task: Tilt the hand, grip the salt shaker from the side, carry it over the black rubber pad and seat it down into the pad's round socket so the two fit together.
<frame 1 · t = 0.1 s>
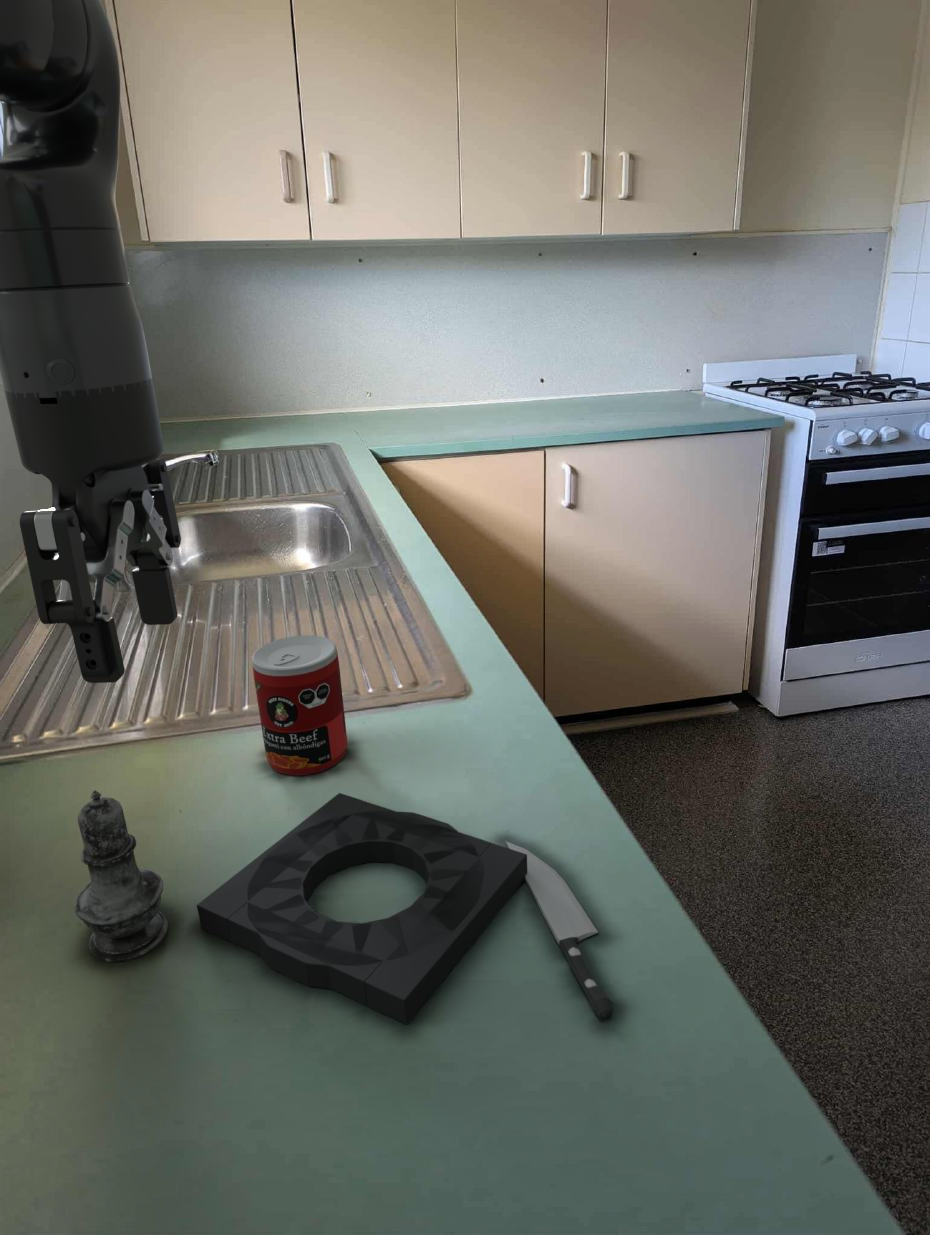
hand: (134, 649, 54), 22 cm above the worktop, tool pointing down, fingers open, 8 cm apart
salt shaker: (129, 936, 62), on the worktop
canned food: (308, 757, 84), on the worktop
chef's knife: (565, 919, 62), on the worktop, touching black pad
black pad: (368, 901, 64), on the worktop
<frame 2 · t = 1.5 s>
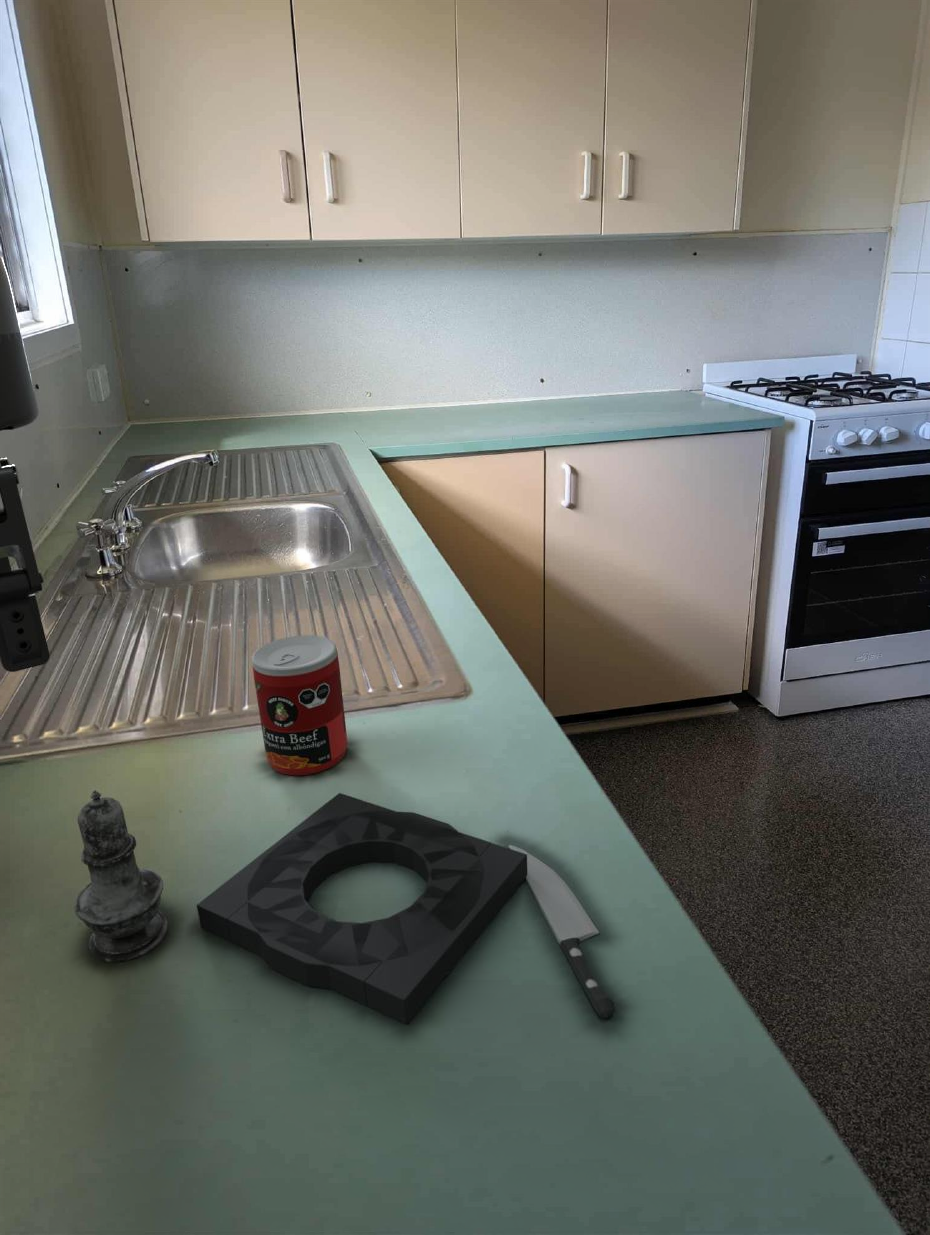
hand: (13, 640, 48), 25 cm above the worktop, tool pointing down, fingers open, 8 cm apart
chef's knife: (566, 920, 62), on the worktop
everything else where it was.
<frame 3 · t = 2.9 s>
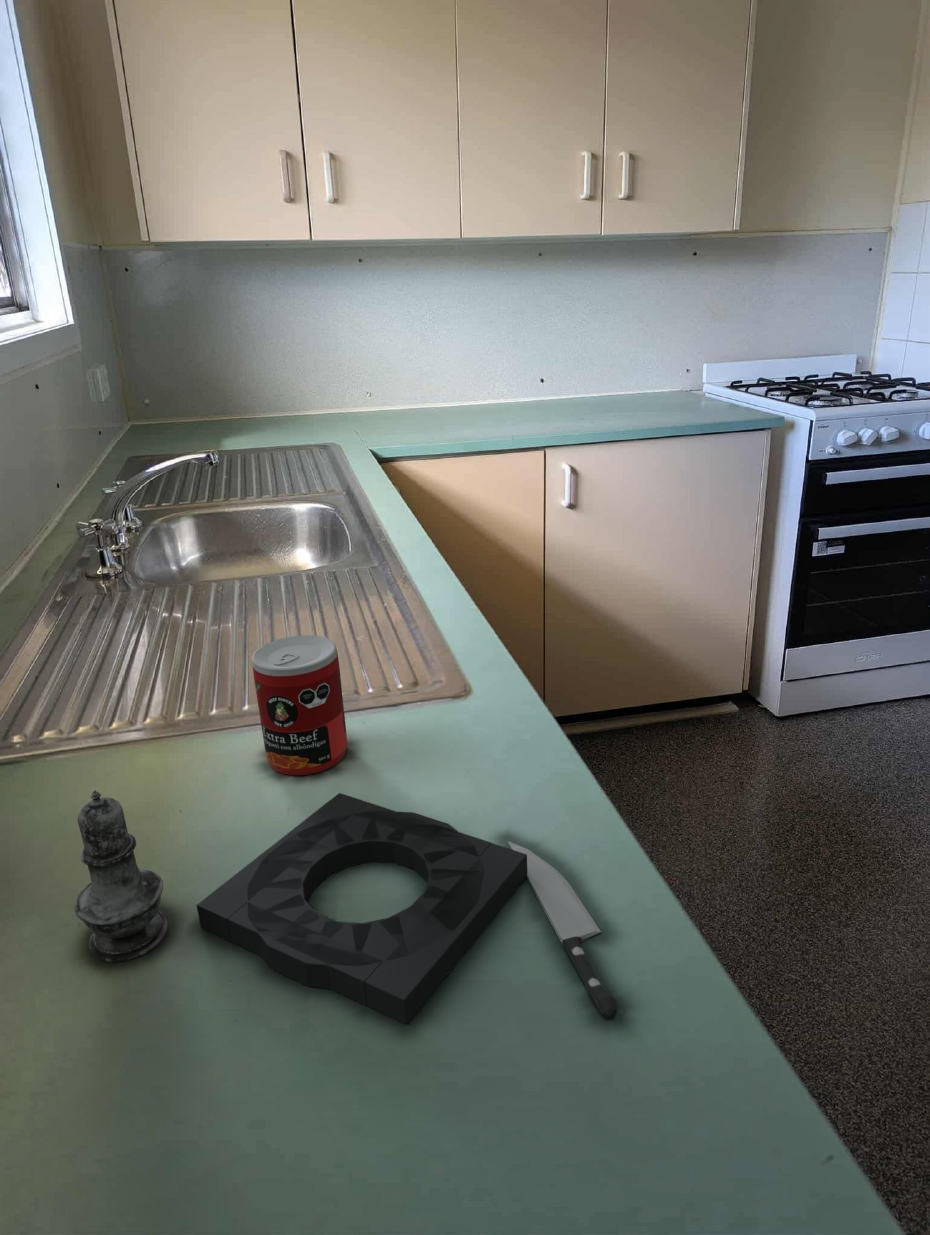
nothing on the worktop moved.
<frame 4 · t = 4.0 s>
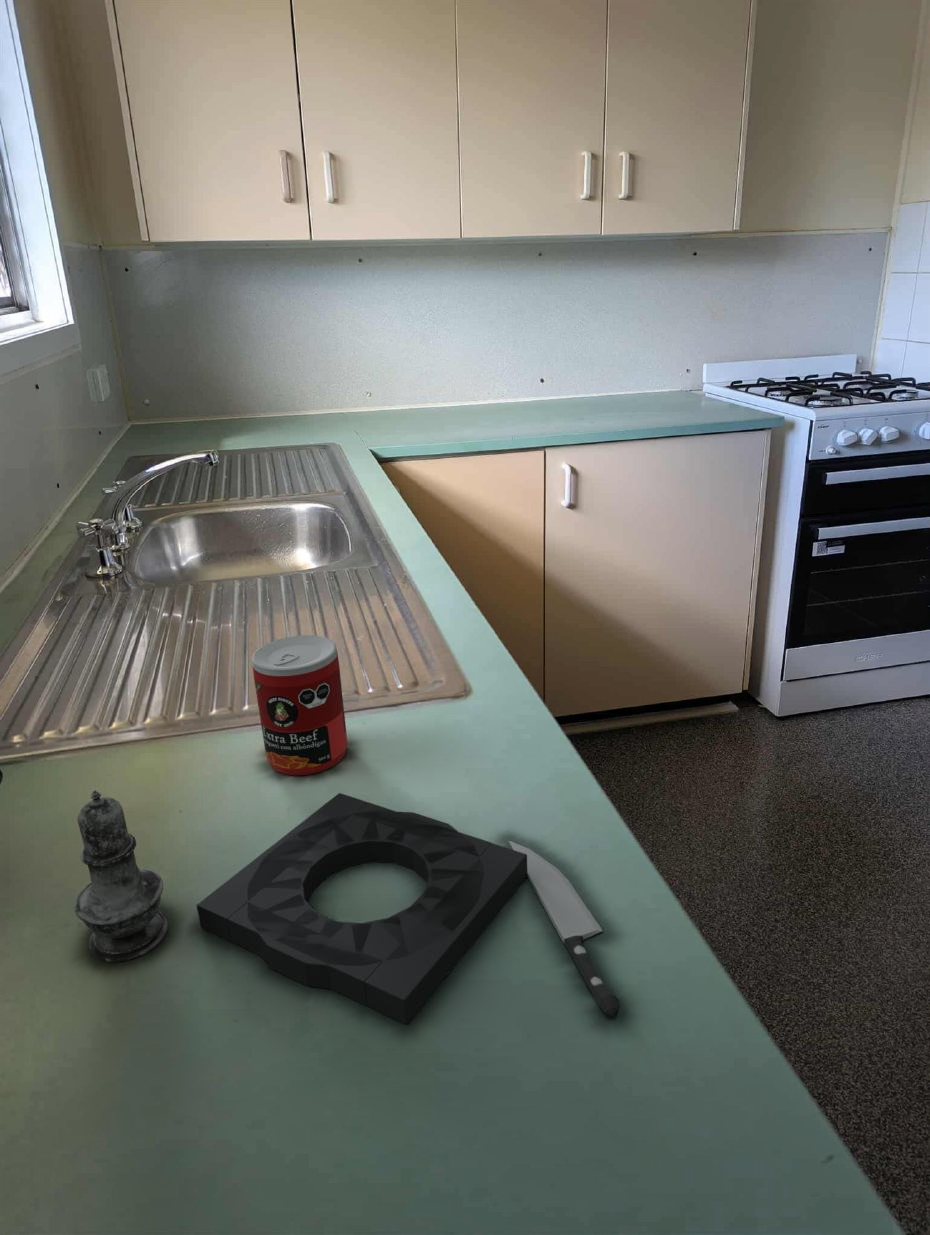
nothing on the worktop moved.
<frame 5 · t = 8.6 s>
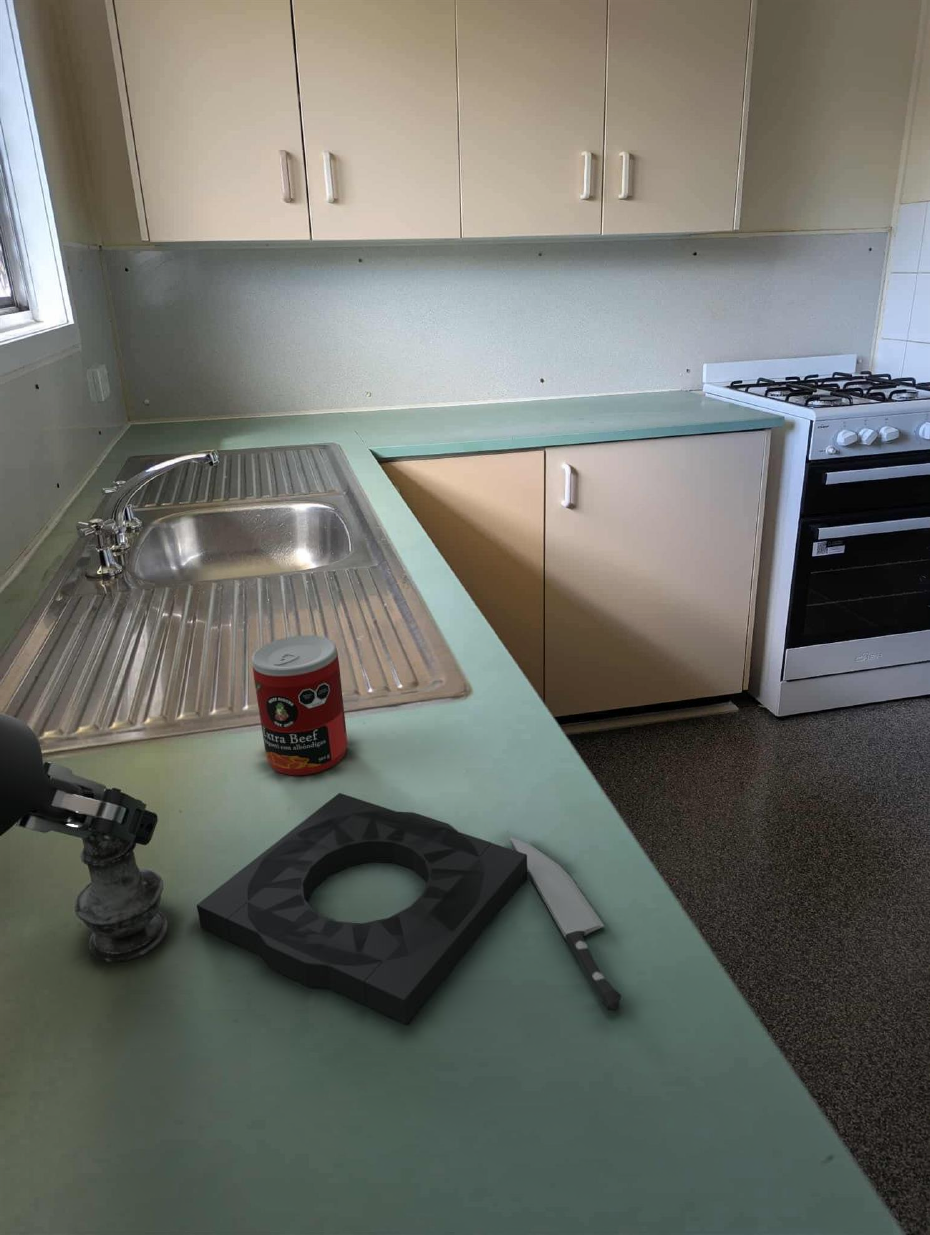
hand: (127, 824, 61), 8 cm above the worktop, tool tilted 45°, fingers closed on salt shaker, 3 cm apart
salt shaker: (129, 936, 62), on the worktop, touching gripper
everything else where it was.
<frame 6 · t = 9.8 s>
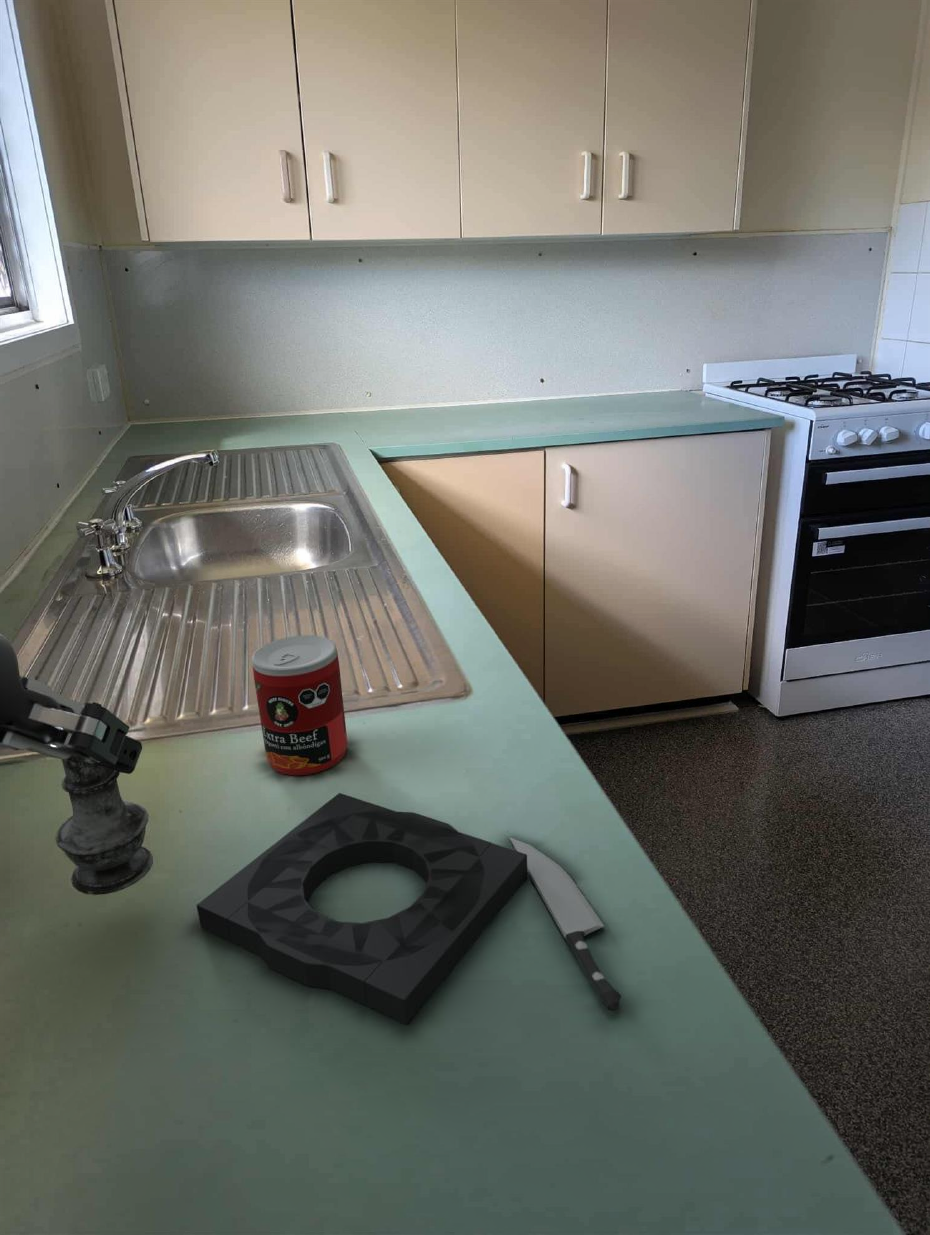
hand: (111, 753, 59), 14 cm above the worktop, tool tilted 45°, fingers closed on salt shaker, 3 cm apart
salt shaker: (113, 871, 60), point 5 cm above the worktop, touching gripper
everything else where it was.
when the fingers open (8 cm above the worktop, at t = 18.1 s): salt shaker stays where it is, resting in black pad.
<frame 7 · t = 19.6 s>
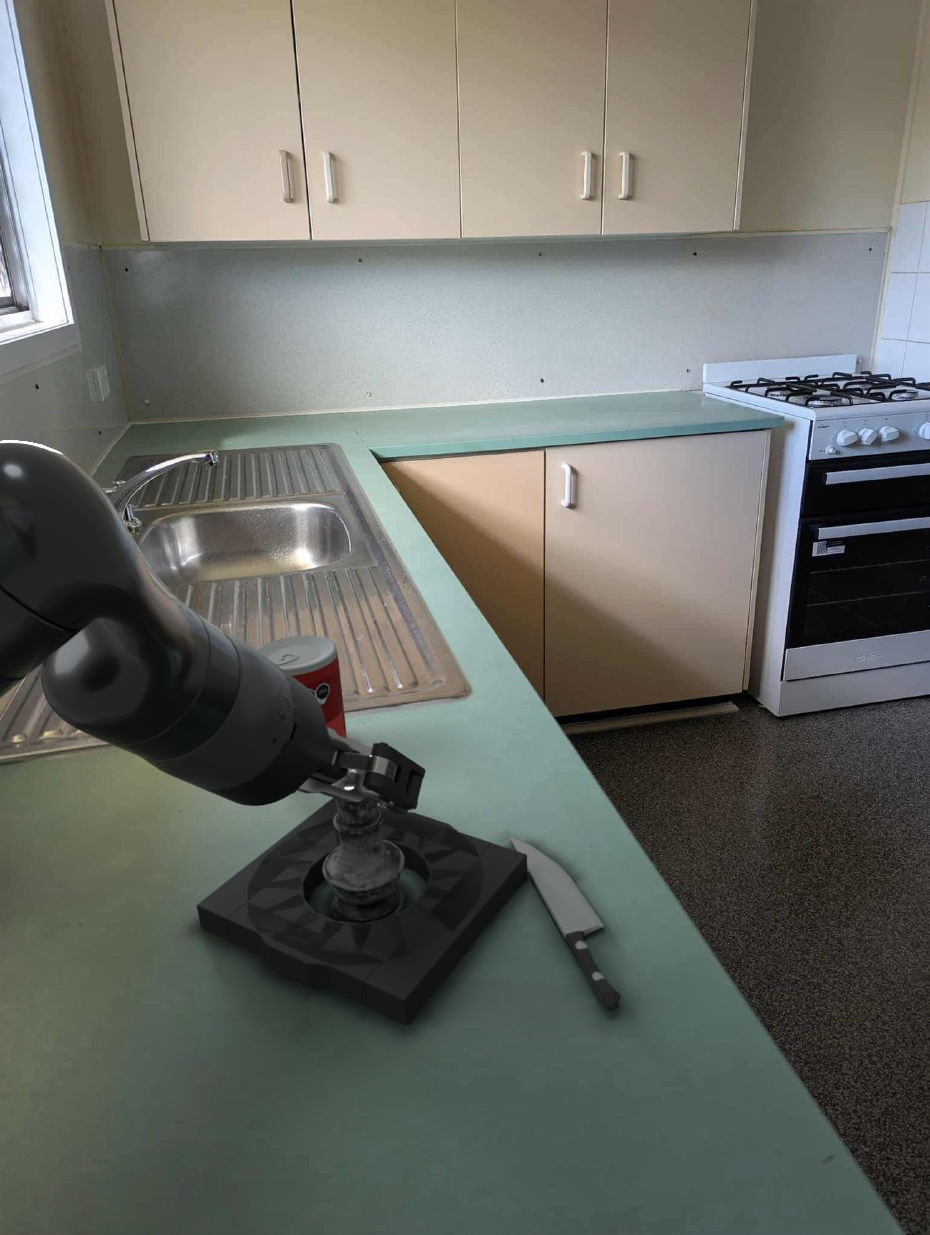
hand: (350, 788, 60), 10 cm above the worktop, tool tilted 45°, fingers open, 8 cm apart
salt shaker: (368, 905, 64), resting in black pad
everything else where it was.
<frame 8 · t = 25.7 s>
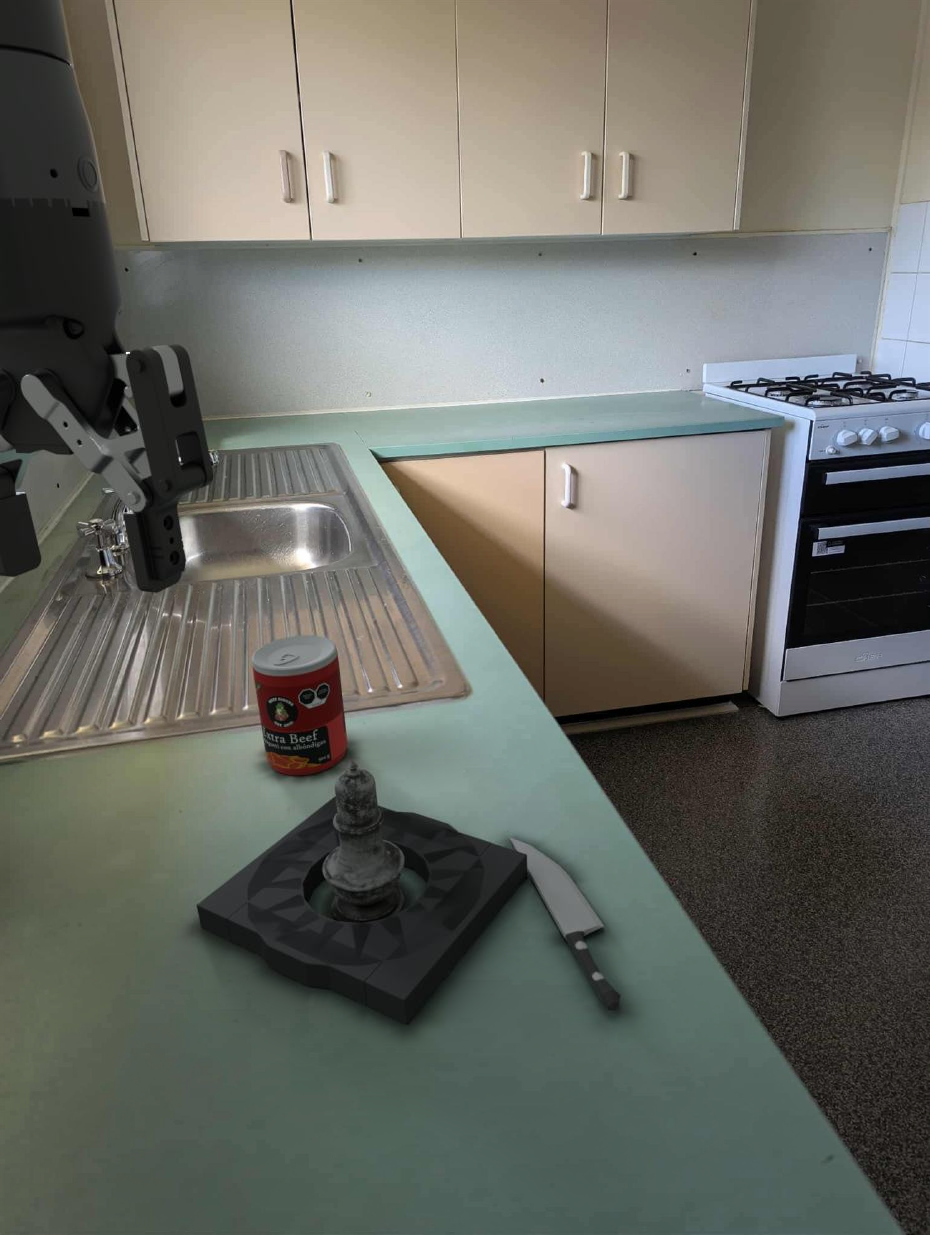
hand: (88, 579, 41), 30 cm above the worktop, tool pointing down, fingers open, 8 cm apart
nothing on the worktop moved.
at the end: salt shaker 0.2 cm off-centre in the black pad, point 0.0 cm above the black pad's base; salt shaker tilted 0°; the gripper is holding nothing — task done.
